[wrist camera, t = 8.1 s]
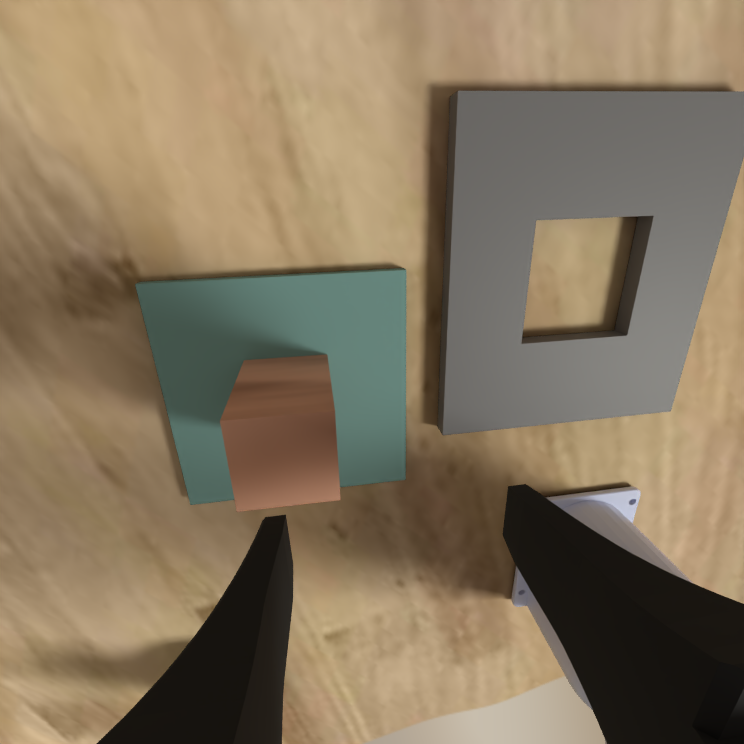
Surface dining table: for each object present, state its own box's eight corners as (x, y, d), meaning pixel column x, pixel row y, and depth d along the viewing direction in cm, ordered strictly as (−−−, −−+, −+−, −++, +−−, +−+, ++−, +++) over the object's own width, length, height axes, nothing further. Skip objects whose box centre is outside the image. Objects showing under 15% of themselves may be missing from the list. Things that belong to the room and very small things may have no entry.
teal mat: (403, 473, 24) (405, 479, 24) (193, 497, 23) (190, 504, 22) (403, 268, 20) (406, 269, 19) (140, 281, 18) (135, 284, 18)
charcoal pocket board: (657, 403, 25) (670, 411, 24) (437, 426, 23) (442, 435, 23) (740, 97, 19) (762, 91, 18) (450, 96, 17) (458, 90, 16)
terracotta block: (331, 425, 22) (340, 500, 16) (254, 432, 21) (236, 511, 16) (327, 354, 20) (334, 410, 15) (243, 360, 20) (219, 420, 14)
